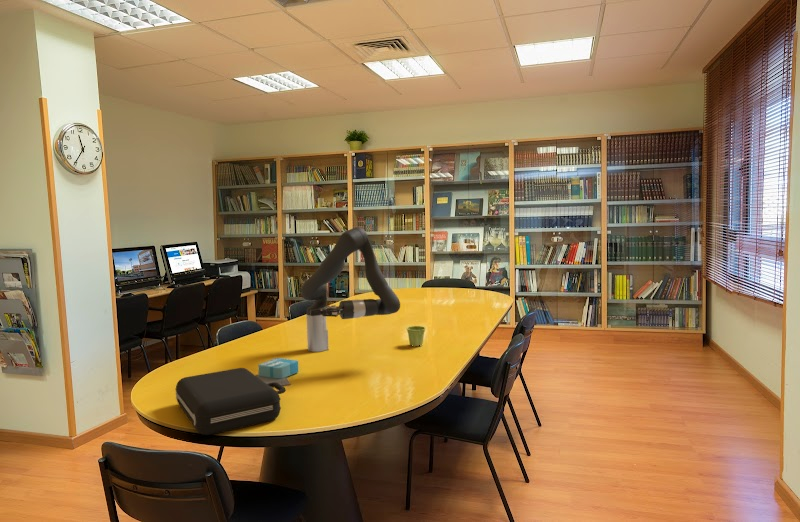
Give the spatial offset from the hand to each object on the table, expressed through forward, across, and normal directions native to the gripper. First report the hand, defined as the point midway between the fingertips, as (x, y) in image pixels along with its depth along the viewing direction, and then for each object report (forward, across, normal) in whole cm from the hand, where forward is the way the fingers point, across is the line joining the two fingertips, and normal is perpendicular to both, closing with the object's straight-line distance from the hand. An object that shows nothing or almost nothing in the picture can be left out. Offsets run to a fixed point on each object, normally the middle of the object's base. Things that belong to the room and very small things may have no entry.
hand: (310, 313), depth 210 cm
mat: (+18, +1, +25) cm, 30 cm away
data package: (+9, -1, +22) cm, 24 cm away
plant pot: (-56, -25, +26) cm, 67 cm away
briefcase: (+32, +29, +25) cm, 50 cm away
